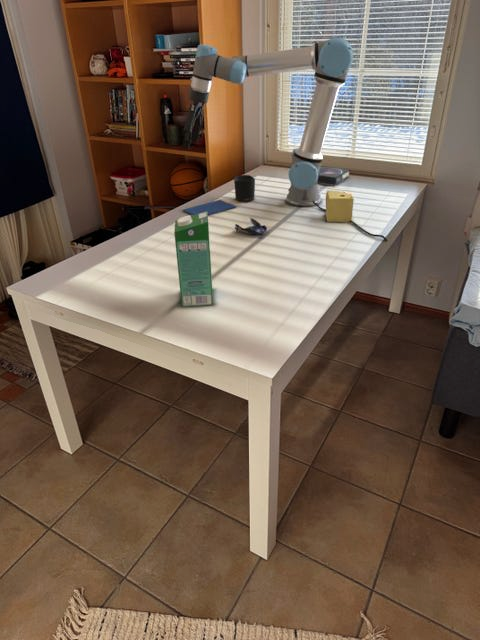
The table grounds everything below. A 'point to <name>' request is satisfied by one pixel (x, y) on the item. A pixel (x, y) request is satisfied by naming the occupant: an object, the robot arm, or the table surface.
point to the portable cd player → (332, 175)
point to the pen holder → (244, 188)
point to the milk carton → (194, 259)
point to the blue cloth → (210, 208)
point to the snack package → (252, 228)
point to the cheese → (339, 206)
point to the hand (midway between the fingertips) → (190, 145)
